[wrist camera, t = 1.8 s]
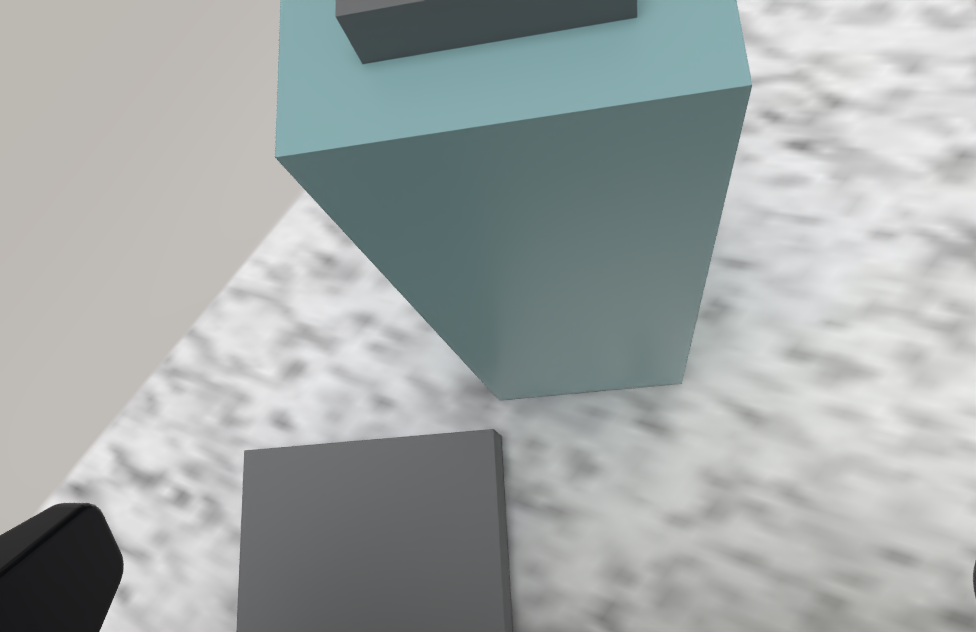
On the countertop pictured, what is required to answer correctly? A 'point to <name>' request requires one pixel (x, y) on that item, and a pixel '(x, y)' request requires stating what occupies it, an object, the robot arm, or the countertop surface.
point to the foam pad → (376, 536)
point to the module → (525, 170)
